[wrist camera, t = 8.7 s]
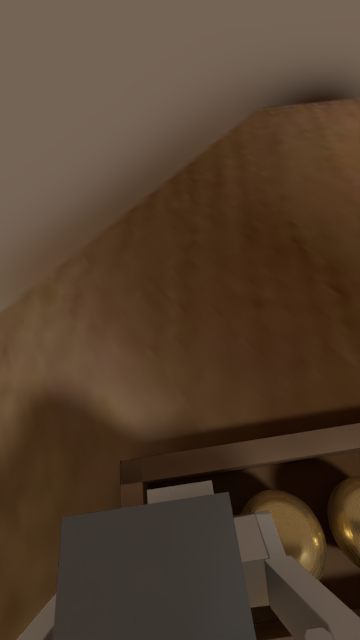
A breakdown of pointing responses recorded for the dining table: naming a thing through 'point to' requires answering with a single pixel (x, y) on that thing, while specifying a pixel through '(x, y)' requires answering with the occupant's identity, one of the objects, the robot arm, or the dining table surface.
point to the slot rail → (230, 458)
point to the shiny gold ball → (346, 517)
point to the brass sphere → (294, 528)
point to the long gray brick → (154, 571)
